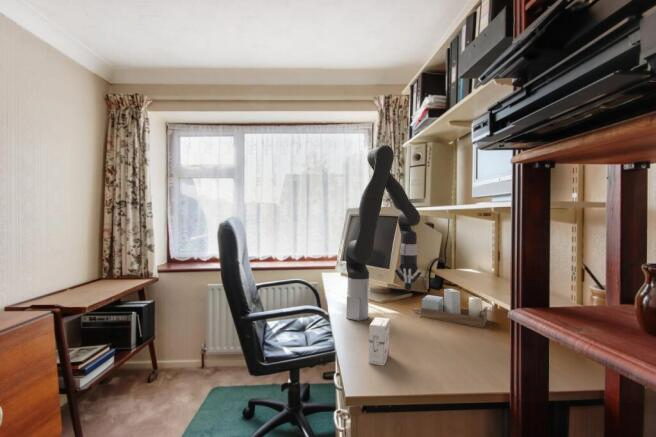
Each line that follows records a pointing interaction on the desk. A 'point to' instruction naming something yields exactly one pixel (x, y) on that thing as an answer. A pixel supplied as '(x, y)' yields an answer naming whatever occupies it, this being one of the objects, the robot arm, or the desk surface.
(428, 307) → the stamp block with stem
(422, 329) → the desk surface
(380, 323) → the ink box
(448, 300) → the skincare box
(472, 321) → the lane
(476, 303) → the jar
